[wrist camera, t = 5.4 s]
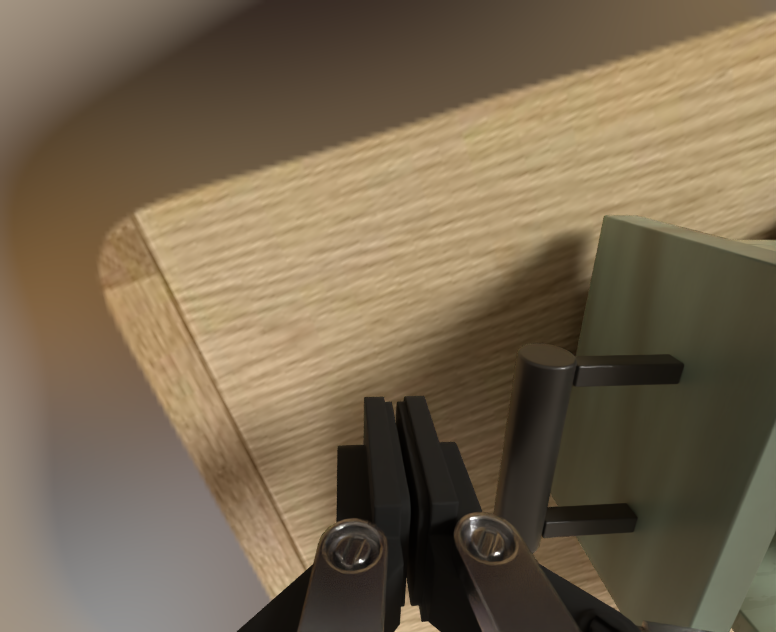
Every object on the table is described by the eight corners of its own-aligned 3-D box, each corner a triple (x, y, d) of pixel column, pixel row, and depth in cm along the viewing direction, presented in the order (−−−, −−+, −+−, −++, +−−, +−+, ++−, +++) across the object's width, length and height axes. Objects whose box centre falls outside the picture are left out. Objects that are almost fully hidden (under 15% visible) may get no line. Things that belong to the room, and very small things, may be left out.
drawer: (449, 495, 18) (513, 704, 11) (477, 213, 14) (603, 281, 7) (835, 475, 20) (1086, 646, 13) (962, 219, 16) (1426, 279, 9)
